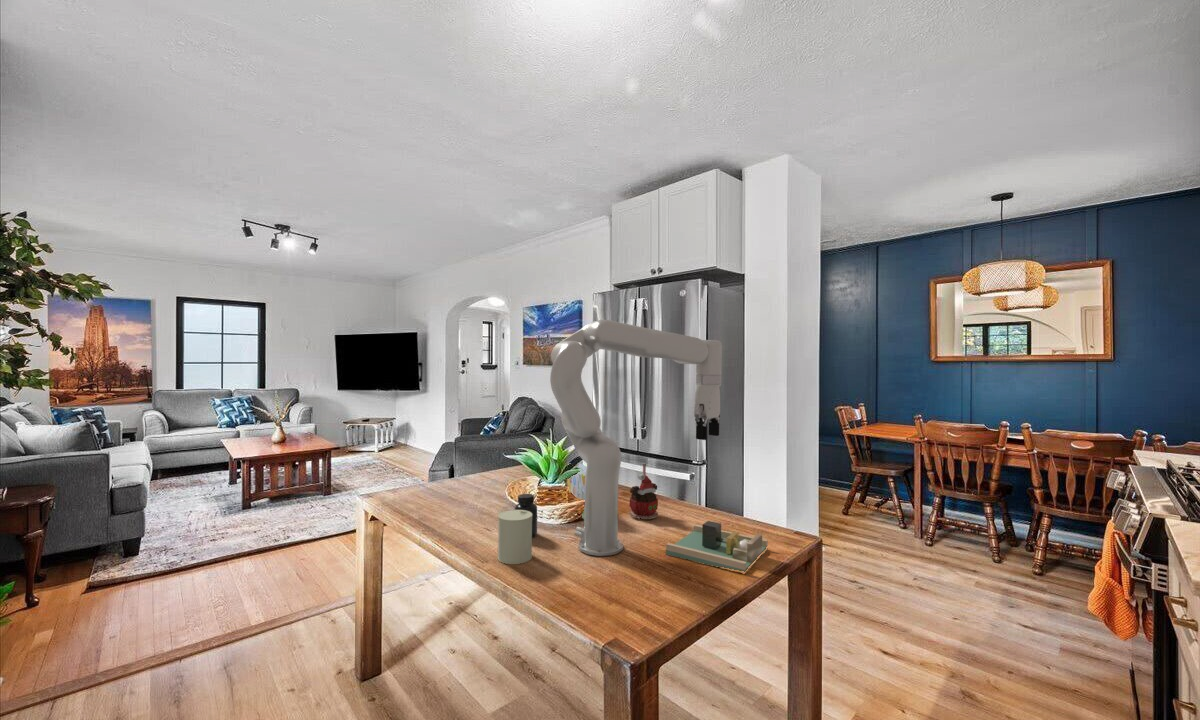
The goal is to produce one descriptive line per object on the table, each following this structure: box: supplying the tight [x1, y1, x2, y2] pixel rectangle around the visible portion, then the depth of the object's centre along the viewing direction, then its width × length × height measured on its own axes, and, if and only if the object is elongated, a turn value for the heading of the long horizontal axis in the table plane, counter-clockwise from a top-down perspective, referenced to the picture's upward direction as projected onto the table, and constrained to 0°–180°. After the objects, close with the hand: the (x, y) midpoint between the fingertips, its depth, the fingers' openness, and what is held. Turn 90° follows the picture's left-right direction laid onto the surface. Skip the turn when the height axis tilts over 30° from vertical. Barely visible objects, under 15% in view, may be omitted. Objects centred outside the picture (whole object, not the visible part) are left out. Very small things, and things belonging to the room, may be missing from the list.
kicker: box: [701, 520, 740, 554], centre depth 140 cm, size 9×6×6 cm
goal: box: [733, 533, 763, 563], centre depth 135 cm, size 5×9×5 cm, turn 146°
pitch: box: [665, 524, 769, 572], centre depth 140 cm, size 22×20×3 cm
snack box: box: [566, 462, 587, 520], centre depth 175 cm, size 21×6×15 cm, turn 22°
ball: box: [737, 540, 748, 551], centre depth 136 cm, size 4×4×4 cm
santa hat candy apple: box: [629, 463, 659, 520], centre depth 171 cm, size 11×9×18 cm
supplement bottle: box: [514, 493, 538, 539], centre depth 151 cm, size 7×7×12 cm
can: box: [497, 509, 533, 565], centre depth 135 cm, size 9×9×12 cm
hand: (707, 437), depth 151 cm, fingers open, 9 cm apart
